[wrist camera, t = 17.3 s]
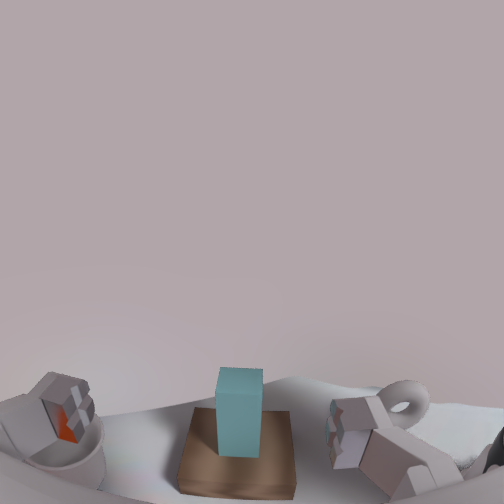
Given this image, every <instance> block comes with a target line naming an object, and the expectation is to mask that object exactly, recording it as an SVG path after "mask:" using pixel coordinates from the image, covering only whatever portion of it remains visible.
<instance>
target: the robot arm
mask: <svg viewBox="0 0 504 504" xmlns="http://www.w3.org/2000/svg"><path fill="white" fill-rule="evenodd" d="M89 390H90V389H89V386H88V382H87V381H85V380H83V379H79V378H75V377H70V376H67V375H63V374H58V373H55V372H48V373H47V374H46V375H45V376H44V377H43V378H42V379H41V380H40V381H39V382H38V384H37V385H36V386H35V387H34V388H33V389H32V390H31V391H30V392H29V393H28V394H27V395H26V394H22V395H19V396H16V397H14V398H11V399H8V400H5V401H2V402H0V504H154V503H149V502H144V501H139V500H135V499H130V498H126V497H122V496H118V495H114V494H111V493H107V492H104V491H100V490H97V489H93V488H90V487H87V486H84V485H81V484H78V483H75V482H72V481H69V480H66V479H63V478H61V477H58V476H55V475H53V474H50V473H48V472H45V471H43V470H40V469H38V468H36V467H33V466H31V465H29V464H27V463H24V462H22V461H23V460H25V459H27V458H28V457H30V456H32V455H33V454H35V453H37V452H38V451H40V450H42V449H43V448H45V447H47V446H48V445H50V444H52V443H53V442H55V441H56V440H58V438H59V439H62V440H65V441H69V442H72V443H76V444H78V443H79V441H80V440H81V438H82V437H83V435H84V433H85V429H84V427H85V426H87V425H89V424H90V423H91V422H92V420H93V417H94V412H95V407H94V403H93V399H92V398H91V397H90V396H89V395H88V392H89ZM330 411H331V416H330V417H329V418H328V419H327V424H326V440H327V445H328V446H330V447H331V451H330V459H331V463H332V467H333V469H345V468H356V467H359V469H360V470H361V471H362V472H363V473H364V474H365V475H366V476H367V477H368V478H369V479H371V480H372V481H373V482H374V483H375V484H376V485H377V486H378V487H379V488H381V489H382V490H383V491H384V492H385V493H386V494H387V495H388V496H390V497H391V499H390V500H389V502H387V503H382V504H504V427H503V429H502V430H501V431H500V432H499V434H498V435H497V437H496V438H495V440H494V442H493V444H489V445H487V446H486V447H485V449H484V450H483V451H482V453H481V454H480V455H479V457H478V458H477V459H476V460H475V462H474V463H473V464H472V465H471V467H470V468H465V469H463V470H462V471H461V472H460V471H459V470H458V468H457V466H456V464H455V462H454V461H453V459H452V457H451V456H450V455H448V454H446V453H444V452H442V451H440V450H439V449H437V448H435V447H433V446H431V445H430V444H428V443H426V442H424V441H423V440H421V439H419V438H417V437H416V436H414V435H412V434H410V433H409V432H407V431H405V430H404V429H402V428H400V427H398V426H393V424H392V422H391V420H390V418H389V416H388V414H387V412H386V410H385V408H384V406H383V404H382V402H381V400H380V398H379V396H377V395H376V396H367V397H360V398H347V399H333V400H332V402H331V406H330Z"/></svg>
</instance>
